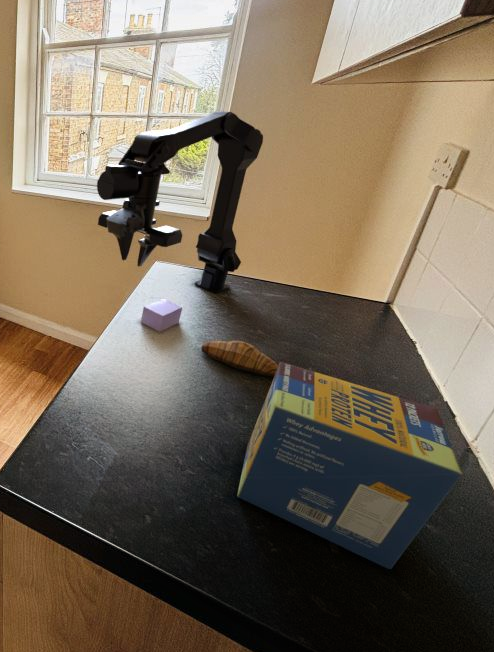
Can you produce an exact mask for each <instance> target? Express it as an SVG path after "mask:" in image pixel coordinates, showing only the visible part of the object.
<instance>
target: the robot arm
mask: <svg viewBox="0 0 494 652" xmlns="http://www.w3.org/2000/svg"><path fill="white" fill-rule="evenodd" d="M210 138H211V139H212V140H213V141H214V142H215V143H216V144H217V158H218V161H219V164H220V166H221V171H220V176H219V181H218V186H217V190H216V196H215V200H214V205H213V210H212V214H211V219H210V223H209V227H207V228H206V229H205V231H204V232H200V233H199V234H198V236H197V243H196V245H195V248H196V252H197V260H198V261H199V262H202V263H204V267H203V270H202V274H201V277H200V278H201V279H200V280H197V281H195V282H194V285H195V286H197V287H199V288H203V289H205V290H208V291H210V292H212V293H216V294H219V293H221V292H223V291H225V290H228V289H230V284H227V283H226V281H227V277H228V274H229V273H235V271H237V270H238V269H239V267H240V266H241V263H242V261H241V259H240V258H239V256H238V254H237V252H236V249H237V239H236V235H235V233H234V230H233V228H234V223H235V219H236V214H237V210H238V206H239V203H240V197H241V193H242V189H243V185H244V180H245V177H246V172H247V170H248V169H249V167H250V166H251V165H252V164H253V163H254V162H255V161H256V159H257V158H258V156H259V154H260V151H261V148H262V146H263V142H264V135H263V134H262V131H261V130H259V128H255V127H254V126H253V125H252V124H250V123H248V122H246V121H245V120H243V119H241V118H240V117H239V116H238V115H237V113H236V114H235V113H234V112H232V111H225V110H224V111H223V110H222V111H221V110H215V111H213V112H211V113H209V114H207V115H205V116H202V117H200V118H196V119H194V120H191V121H189V122H186V123H183V124H181V125H178V126H176V127H173V128H170V129H163V130H162V129H161V130H151V131H144V132H139V133H138V134H136V135H135V136H134V140H133V142H132V143H131V145H130V146H129V147H128V149H127V151H126V152H125V153H124V155H123V156H122V158H121V159H120V161H119V162H118V164H117V165H114V164H106V165H105V168H104V171H103V172H101V174H100V175H99V177H98V179H97V181H96V190H97V194H98V197H99V198H100V199H102V200H104V201H109V200H118V199H124V201H123V203H122V207H121V209H118V210H109V211H105V212H101V213H100V215H99V216H98V219H97V226H100V227H103V228H104V229H105V228H106V229H107V232H108V233H109V234H112V235H114V237H115V238H116V240H117V244H118V247H119V252H120V256H121V257H120V258H121V261H126V260H127V258H128V256H129V253H130V250H131V247H132V242H133V239H134V235H135V233H140V234H143V235H144V238H141V239H137V242H138V244H139V251H138V257H137V267H139V268H140V267H142V266H143V265H144V263H145V262H146V260H147V259H148V257H149V256H150V255H151V254H152V252H153V251H154V250H155V249H156V248H157V246H159V247H161V248H168V247H171V246H174V245H177V244H181V243H182V240H183V232H182V231H181V229H179V228H177V227H173V226H170V225H162V226H159V227H155V226H153V225H156V224H157V219H155V218H154V215H155V210H156V207H159V206H160V203H161V201H160V200H157V199H158V193H159V189H160V182H161V177H162V175H169V174H170V173H171V170H170V169H169V168H168V167H167V165H165V163H167V162H168V161H170V160H172V159H173V158H175V156H176V155H177V154H178V152H179V151H181V150H182V149H185V148H187V147H190V146H193V145H195V144H197V143H200V142H202V141H205V140H207V139H210Z"/></svg>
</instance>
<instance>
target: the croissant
mask: <svg viewBox="0 0 494 652" xmlns="http://www.w3.org/2000/svg"><path fill="white" fill-rule="evenodd" d="M200 352H202V353H203V354H205V355H206V356H208V357H210V358H212V359H214V360H216V361H218V362H221V363H223V364H225V365H227V366H229V367H231V368H234V369H237V370H241V371H244V372H249V373H252V374H255V375H259V376H265V377H271V378H272V377H273V378H274V376H275V374H276V371H277V368H278V366H279V364H277V363H276V362H275V361H274V360H273V359H272V358H271V357H269V356H267V354H265V353H263V352H262V351H259V350H258V348H257V347H256V346H255V345H253V344H250V343H248V342H245V341H241V340H231V341H227V340H211V341H206V342H203V343H202V344H201V351H200Z"/></svg>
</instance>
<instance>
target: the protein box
mask: <svg viewBox="0 0 494 652" xmlns="http://www.w3.org/2000/svg"><path fill="white" fill-rule="evenodd" d="M463 475H464V473H463V470H462V469H461V466H460V464H459V462H458V458H457V457H456V454H455V452H454V450H453V448H452V444H451V441H450V439H449V436H448V434H447V430H446V427H445V423H444V421H443V419H442V415H441V413H440V411H439V409H438V408H436V407H433V406H429V405H427V404H423V403H420V402H416V401H413V400H409V399H406V398H403V397H398V396H397V395H392V394H390V393H386V392H382V391H380V390H376V389H373V388H370V387H366V386H364V385H363V386H362V385H359V384H356V383H354V382H353V383H352V382H349V381H347V380H343V379H340V378H338V377H337V378H336V377H333V376H330V375H326V374H323V373H319V372H317V371H312V370H310V369H306V368H303V367H300V366H296V365H293V364H290V363H287V362H284V361H279V363H278V368H277V371H276V374H275V376H274V377H273V379H272V382H271V384H270V388H269V389H268V392H267V394H266V397H265V400H264V402H263V405H262V408H261V410H260V413H259V415H258V418H257V420H256V423H255V425H254V428H253V429H252V433H251V435H250V438H249V441H248V443H247V446H246V451H245V457H244V461H243V465H242V470H241V475H240V480H239V485H238V489H237V490H238V491H237V495H236V496H237V498H239V499H241V500H243V501H245V502H247V503H249V504H251V505H253V506H256V507H258V508H260V509H262V510H264V511H266V512H268V513H270V514H272V515H274V516H276V517H279V518H280V519H282V520H285V521H287V522H289V523H291V524H293V525H295V526H297V527H300V528H302V529H304V530H305V531H307V532H310V533H312V534H314V535H316V536H318V537H320V538H322V539H324V540H326V541H329V542H331V543H333V544H334V545H336V546H337V545H338V546H339V547H341V548H343V549H346V550H348V551H350V552H352V553H353V554H356V555H358V556H360V557H362V558H364V559H366V560H369V561H370V562H373V563H375V564H377V565H379V566H381V567H383V568H385V569H387V570H388V569H389V570H392V568H393V567H394V566H395V564H396V563H397V562H398V560H399V559H400V558H401V557H402V555H403V554H404V553H405V551H406V550H407V548H408V547H409V546H410V545H411V544H412V542H413V540H415V538H416V537H417V536H418V534H419V532H421V530H422V529H423V528H424V526H425V525H426V523H427V522H428V521H429V519H430V518H431V516H433V514H434V513H435V511H437V509H438V507H439V506H440V505H441V504H442V502H443V501H444V500H445V498H447V496H448V494H449V493H450V492H451V490H452V489H453V488H454V487H455V485H456V484H457V483H458V481H459V480H460V478H461V477H462V476H463Z"/></svg>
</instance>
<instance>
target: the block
mask: <svg viewBox="0 0 494 652" xmlns="http://www.w3.org/2000/svg"><path fill="white" fill-rule="evenodd" d="M182 312H183V307H182V306H181V305H178V304H176V303H173V302H172V301H169V300H167V299H164V298H161V299H159V300H157V301H153V302H151V303H149V304H147V305H145V306H143V308H142V314H141V319H140V323H141V324H144V325H145V326H148V327H149V328H151V329H153V330H155V331H157V332H159V333H160V332H162V331H165V330H167V329H169V328H171V327H173V326H175V325H177V324H179V322H180V319H181V315H182Z"/></svg>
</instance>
